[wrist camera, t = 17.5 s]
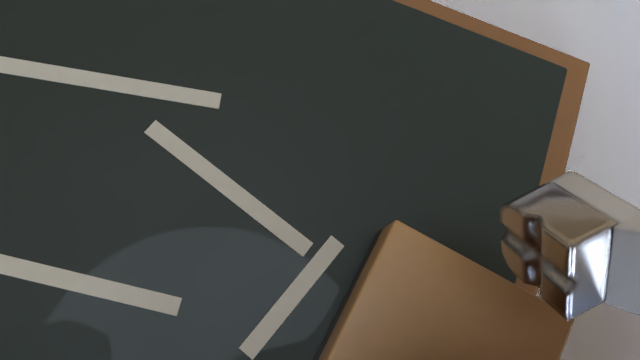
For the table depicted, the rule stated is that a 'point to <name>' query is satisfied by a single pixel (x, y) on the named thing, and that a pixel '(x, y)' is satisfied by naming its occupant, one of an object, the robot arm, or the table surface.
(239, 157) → the slate board
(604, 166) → the table surface
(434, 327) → the peg on wooden base
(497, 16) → the table surface
